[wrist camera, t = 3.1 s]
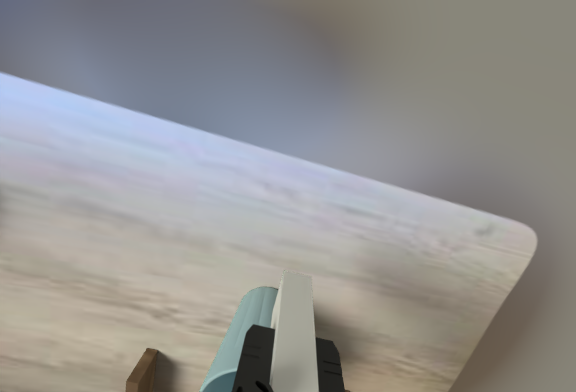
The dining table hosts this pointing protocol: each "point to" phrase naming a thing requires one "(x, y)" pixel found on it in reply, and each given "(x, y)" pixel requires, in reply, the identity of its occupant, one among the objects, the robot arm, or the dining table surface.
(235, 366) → the cup
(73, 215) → the dining table surface
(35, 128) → the dining table surface
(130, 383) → the corral
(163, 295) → the dining table surface
